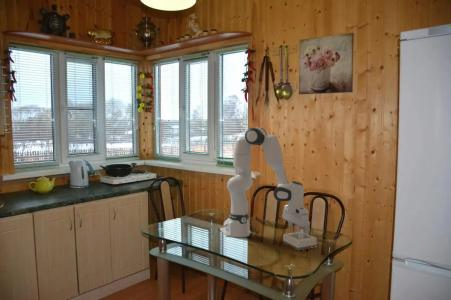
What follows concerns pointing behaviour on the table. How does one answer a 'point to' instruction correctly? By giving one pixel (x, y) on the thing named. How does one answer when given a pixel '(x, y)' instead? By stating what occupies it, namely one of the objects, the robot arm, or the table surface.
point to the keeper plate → (299, 239)
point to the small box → (303, 228)
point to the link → (293, 240)
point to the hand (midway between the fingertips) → (293, 230)
